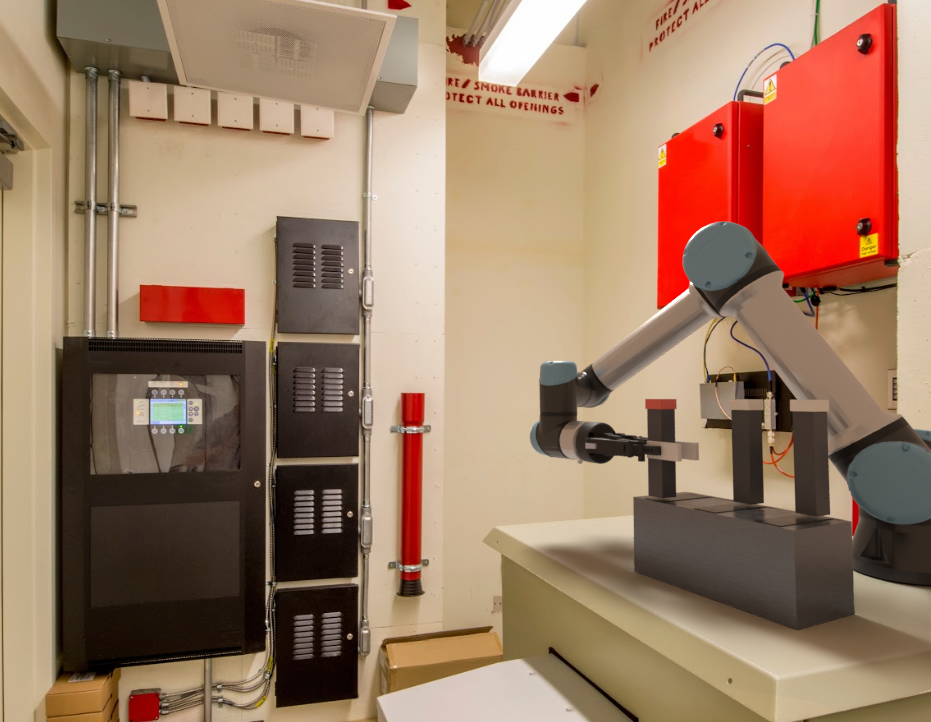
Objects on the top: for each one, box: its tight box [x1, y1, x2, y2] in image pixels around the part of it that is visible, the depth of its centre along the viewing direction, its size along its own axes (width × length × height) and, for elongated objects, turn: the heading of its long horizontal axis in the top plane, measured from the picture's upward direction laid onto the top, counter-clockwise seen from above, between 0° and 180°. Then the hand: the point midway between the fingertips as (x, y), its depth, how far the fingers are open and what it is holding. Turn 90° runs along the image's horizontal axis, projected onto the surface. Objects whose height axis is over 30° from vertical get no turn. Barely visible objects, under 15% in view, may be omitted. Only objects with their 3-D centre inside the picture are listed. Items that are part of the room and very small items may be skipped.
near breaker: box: [789, 399, 831, 517], centre depth 83 cm, size 3×3×16 cm
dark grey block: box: [632, 491, 856, 631], centre depth 89 cm, size 28×12×12 cm, turn 28°
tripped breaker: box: [644, 398, 677, 498], centre depth 97 cm, size 3×3×16 cm
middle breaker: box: [728, 398, 765, 505], centre depth 92 cm, size 3×3×16 cm
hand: (688, 451), depth 92 cm, fingers closed on tripped breaker, 3 cm apart
